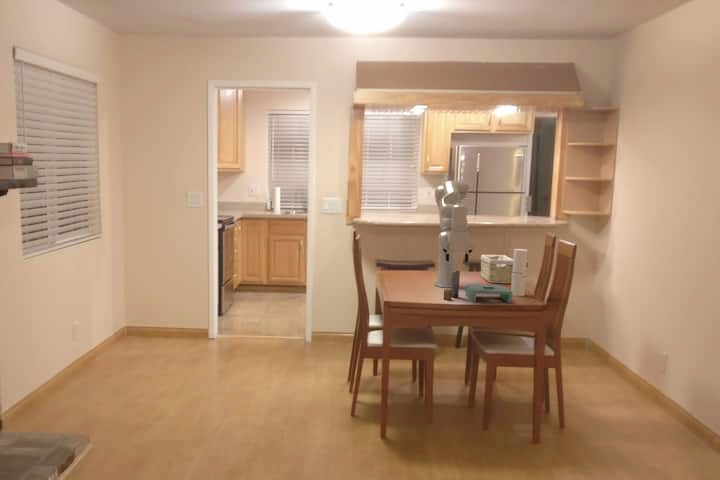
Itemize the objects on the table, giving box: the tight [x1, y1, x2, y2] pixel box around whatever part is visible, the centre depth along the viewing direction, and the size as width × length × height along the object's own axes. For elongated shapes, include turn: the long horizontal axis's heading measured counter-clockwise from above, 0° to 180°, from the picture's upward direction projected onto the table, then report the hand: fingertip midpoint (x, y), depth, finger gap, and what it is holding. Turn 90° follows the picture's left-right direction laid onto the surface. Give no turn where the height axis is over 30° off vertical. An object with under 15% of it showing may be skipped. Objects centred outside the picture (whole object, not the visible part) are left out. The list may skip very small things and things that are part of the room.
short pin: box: [443, 288, 452, 301], centre depth 289 cm, size 4×4×5 cm
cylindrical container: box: [510, 248, 529, 297], centre depth 306 cm, size 7×7×25 cm
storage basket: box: [479, 254, 513, 284], centre depth 348 cm, size 24×16×15 cm
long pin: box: [450, 269, 461, 299], centre depth 295 cm, size 4×4×14 cm
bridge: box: [465, 283, 513, 304], centre depth 293 cm, size 16×20×6 cm
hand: (456, 261), depth 293 cm, fingers open, 9 cm apart
